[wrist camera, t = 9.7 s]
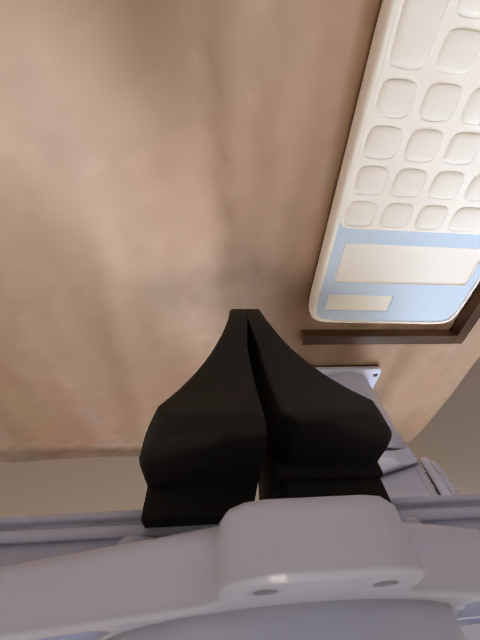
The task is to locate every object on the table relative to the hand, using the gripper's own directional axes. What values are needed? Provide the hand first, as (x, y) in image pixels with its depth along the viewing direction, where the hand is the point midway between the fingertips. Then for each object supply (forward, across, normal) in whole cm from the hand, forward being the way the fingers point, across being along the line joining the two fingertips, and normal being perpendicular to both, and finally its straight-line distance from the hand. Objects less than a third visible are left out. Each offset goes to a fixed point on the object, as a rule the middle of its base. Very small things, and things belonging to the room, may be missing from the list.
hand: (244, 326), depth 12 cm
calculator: (+10, -13, -4) cm, 17 cm away
